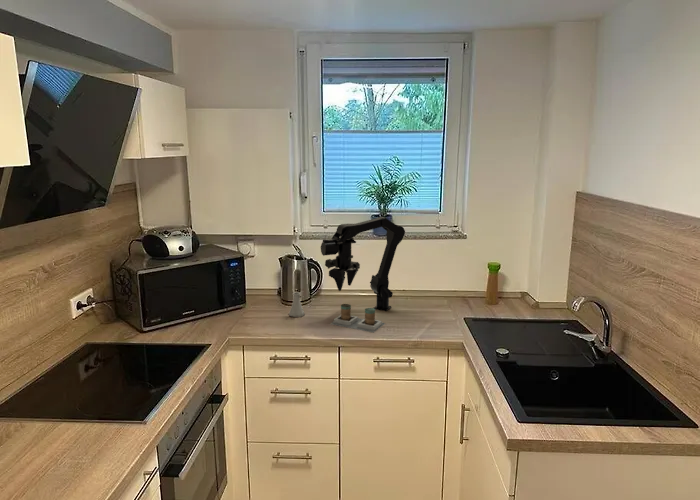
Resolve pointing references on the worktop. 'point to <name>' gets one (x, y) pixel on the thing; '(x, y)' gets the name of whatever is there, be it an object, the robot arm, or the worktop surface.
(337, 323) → the socket board
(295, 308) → the flask
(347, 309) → the sleeve
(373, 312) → the seated sleeve
